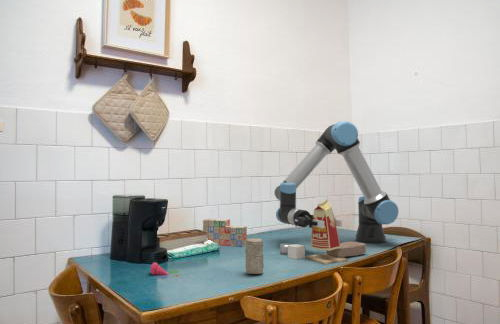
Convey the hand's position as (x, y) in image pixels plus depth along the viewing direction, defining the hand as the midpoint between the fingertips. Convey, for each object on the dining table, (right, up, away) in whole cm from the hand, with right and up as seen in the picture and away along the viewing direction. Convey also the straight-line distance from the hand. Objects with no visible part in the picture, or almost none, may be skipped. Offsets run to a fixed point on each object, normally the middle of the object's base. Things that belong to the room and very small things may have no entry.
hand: (332, 224), depth 150 cm
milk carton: (-2, -11, +4) cm, 12 cm away
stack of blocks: (-45, -17, +37) cm, 61 cm away
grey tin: (-17, -16, +15) cm, 28 cm away
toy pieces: (-62, -15, -19) cm, 66 cm away
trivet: (-2, -15, +4) cm, 16 cm away
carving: (-31, -15, -17) cm, 39 cm away
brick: (+8, -15, +11) cm, 20 cm away
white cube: (-13, -15, +8) cm, 22 cm away
